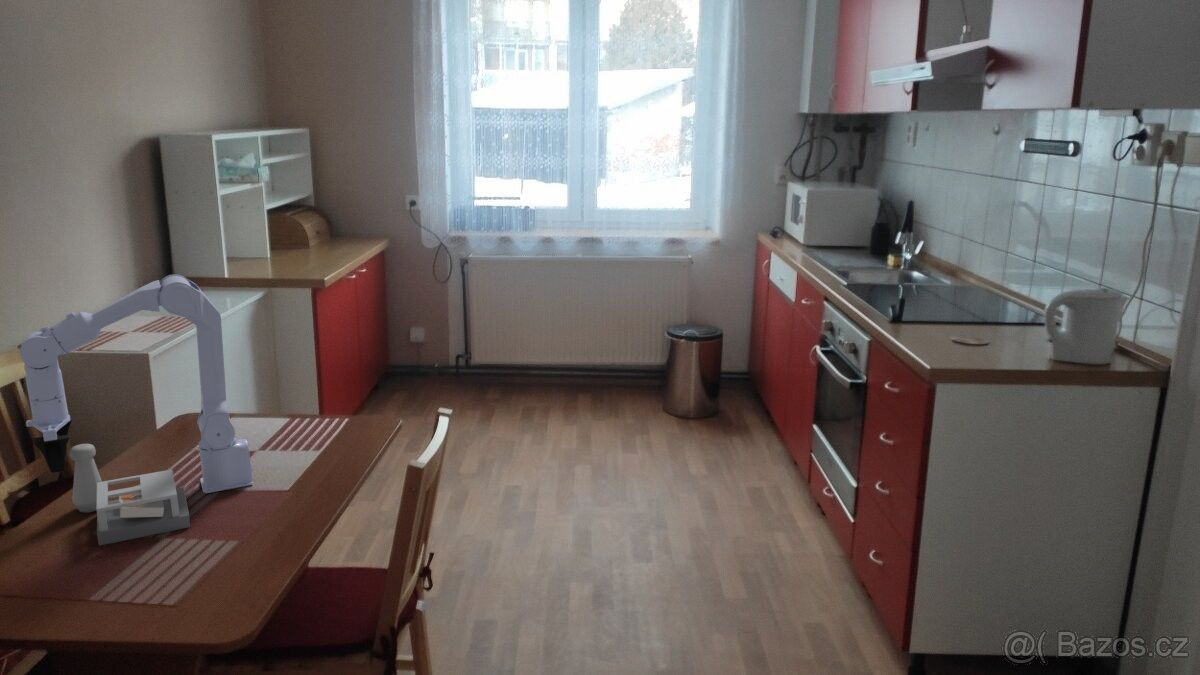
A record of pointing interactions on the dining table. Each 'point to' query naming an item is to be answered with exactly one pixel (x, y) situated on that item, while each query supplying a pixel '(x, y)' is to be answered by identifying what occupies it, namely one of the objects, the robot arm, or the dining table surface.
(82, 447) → the salt shaker
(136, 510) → the rocker near
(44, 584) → the dining table surface
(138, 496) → the rocker far
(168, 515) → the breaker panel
